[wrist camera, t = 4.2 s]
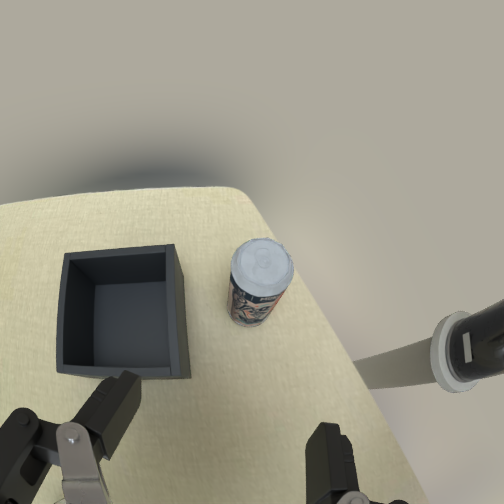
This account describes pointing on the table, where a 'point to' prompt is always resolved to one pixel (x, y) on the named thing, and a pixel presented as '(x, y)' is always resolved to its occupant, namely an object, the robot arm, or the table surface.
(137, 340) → the bin
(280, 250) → the beer can
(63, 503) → the medicine bottle
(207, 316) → the table surface
